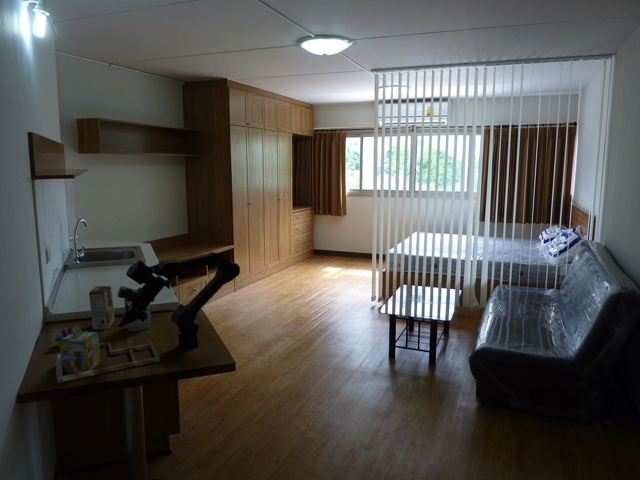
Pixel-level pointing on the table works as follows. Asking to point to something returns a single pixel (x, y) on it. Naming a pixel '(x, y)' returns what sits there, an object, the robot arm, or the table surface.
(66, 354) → the chalk box
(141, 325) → the pillar candle
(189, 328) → the robot arm
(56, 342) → the rainbow disc cluster
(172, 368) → the table surface
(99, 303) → the coffee box
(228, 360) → the table surface
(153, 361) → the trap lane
